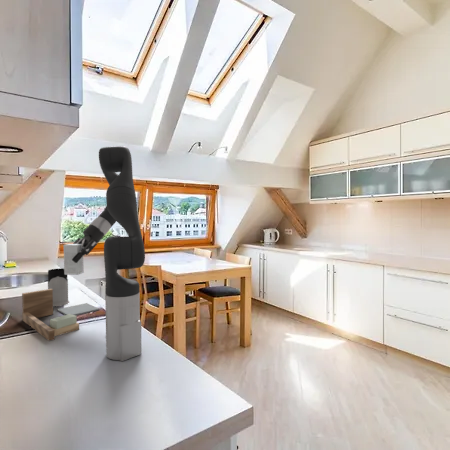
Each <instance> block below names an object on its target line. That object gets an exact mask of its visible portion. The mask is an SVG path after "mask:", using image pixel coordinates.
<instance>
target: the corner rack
mask: <svg viewBox="0 0 450 450" xmlns="http://www.w3.org/2000/svg"><path fill="white" fill-rule="evenodd" d="M21 296H22V298H21V299H22V300H21V304H22V306H21V307H22V308H21V309H22V314H21V316H22V321H23V322H24V323H25V324H26V325H28V326H29V327H30V326H31V327H30V328H32V329H33V330H34V329H35V330H34V331H36V332H37V333H38V334H39V335H41V336H42V337H43V338H45V339H46V340H48V341H49V342H50V341H53V340H55V336H54V330H53V329H52V328H50V327H49V326H50V325H47V324H46V323H44V322H43V321H42V320H40V319H39V318H42V317H47V316H52V315H54V307H53V289H48V288H46V289H41V290H35V291H28V292H22V293H21Z"/></svg>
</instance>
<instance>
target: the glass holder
mask: <svg viewBox="0 0 450 450" xmlns="http://www.w3.org/2000/svg"><path fill="white" fill-rule="evenodd" d="M47 289H53V306H56V307H61V306H62V305H63V306H67V305H68V303H69V304H70V301H69V279H68V275H65V274H64V267H63V268H53V269H48V270H47Z"/></svg>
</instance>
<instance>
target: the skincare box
mask: <svg viewBox="0 0 450 450" xmlns="http://www.w3.org/2000/svg"><path fill="white" fill-rule="evenodd" d="M80 246H81V244H73V243H67V244H66V243H65V244H63V266H64V267H63V269H64V274H65V275H67V276H68V275H69V276H72V275H74V276H79V275H82V274H84V273H85V272H84V256H82V258H81V259H80V260H79V261H78V262H77V263H75V262H74V261H72V259H73V257H74V256H75V255H76V254H77V253H78V252H79V250H80Z"/></svg>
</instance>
